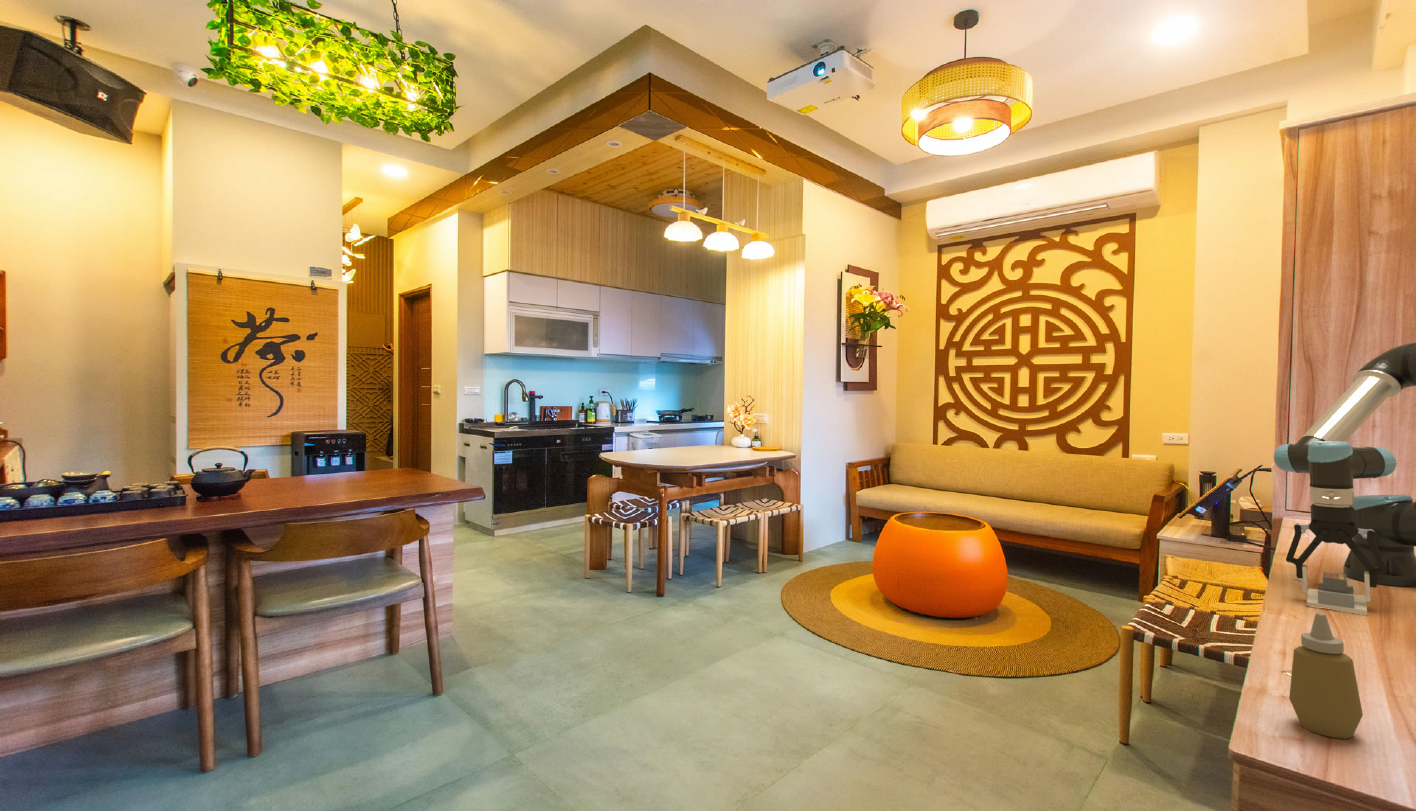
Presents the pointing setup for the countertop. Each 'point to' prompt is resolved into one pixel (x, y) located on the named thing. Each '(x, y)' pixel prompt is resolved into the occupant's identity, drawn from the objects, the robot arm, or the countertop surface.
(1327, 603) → the board
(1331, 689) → the squeeze bottle
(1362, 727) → the countertop surface
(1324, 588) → the plug
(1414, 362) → the robot arm
